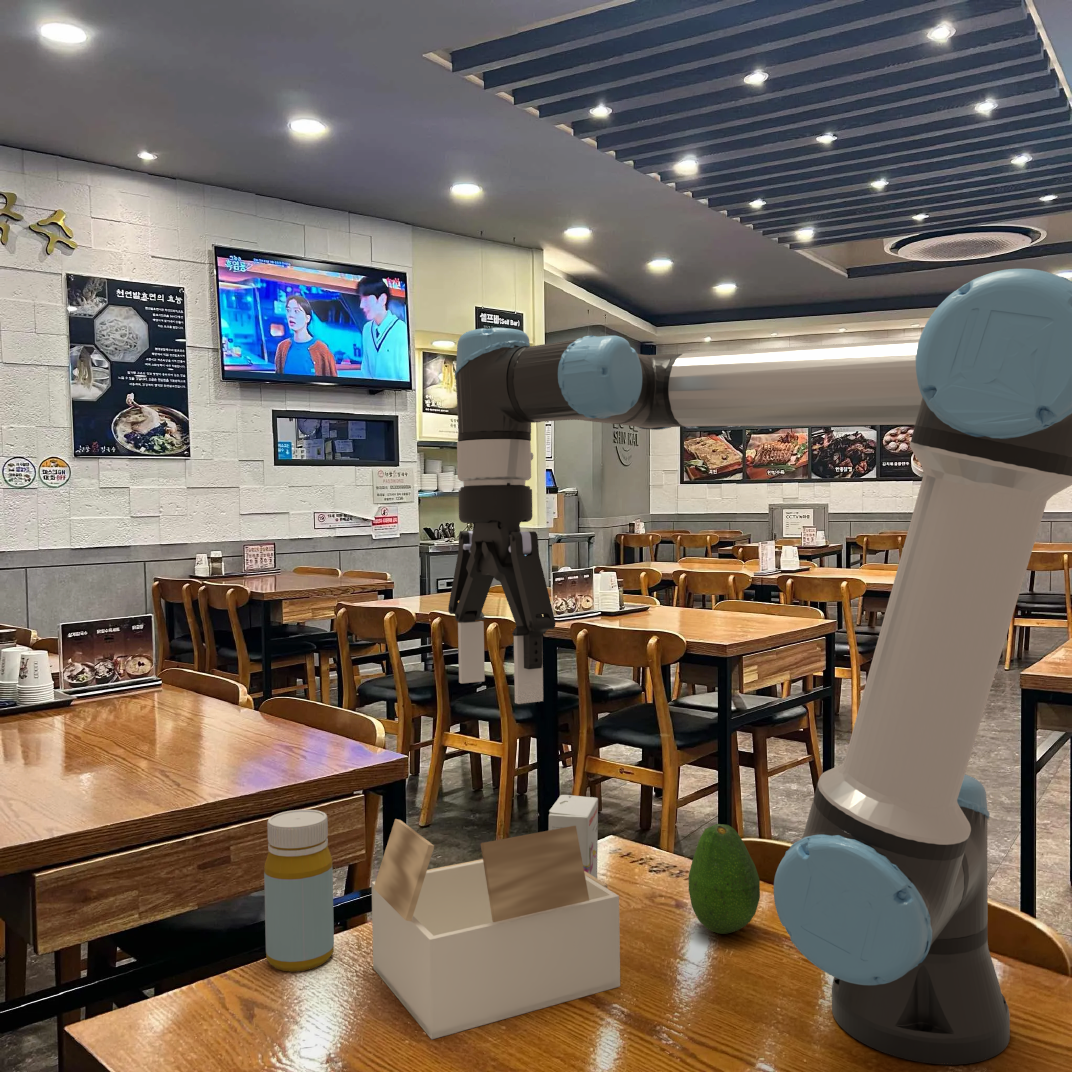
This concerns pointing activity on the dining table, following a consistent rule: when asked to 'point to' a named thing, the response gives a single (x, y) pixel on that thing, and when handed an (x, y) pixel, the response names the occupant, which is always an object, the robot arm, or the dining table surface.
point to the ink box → (579, 825)
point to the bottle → (298, 891)
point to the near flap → (534, 873)
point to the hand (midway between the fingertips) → (498, 691)
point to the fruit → (723, 881)
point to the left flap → (403, 869)
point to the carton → (491, 952)
